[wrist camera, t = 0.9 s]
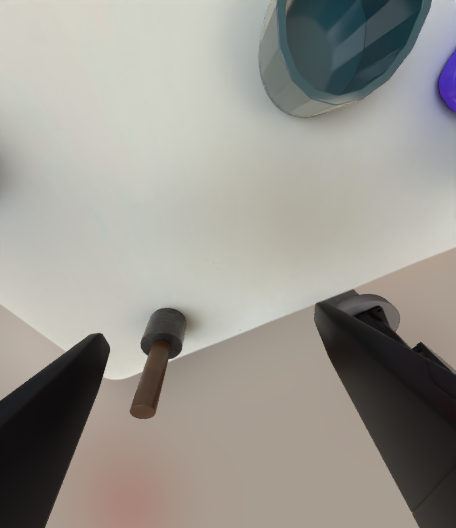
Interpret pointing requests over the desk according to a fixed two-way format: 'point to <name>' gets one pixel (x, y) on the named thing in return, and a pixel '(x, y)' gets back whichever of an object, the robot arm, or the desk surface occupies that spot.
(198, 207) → the desk surface
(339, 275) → the desk surface
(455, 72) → the bottle
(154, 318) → the brush
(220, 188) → the desk surface
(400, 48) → the teal pipe cap
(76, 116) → the desk surface
